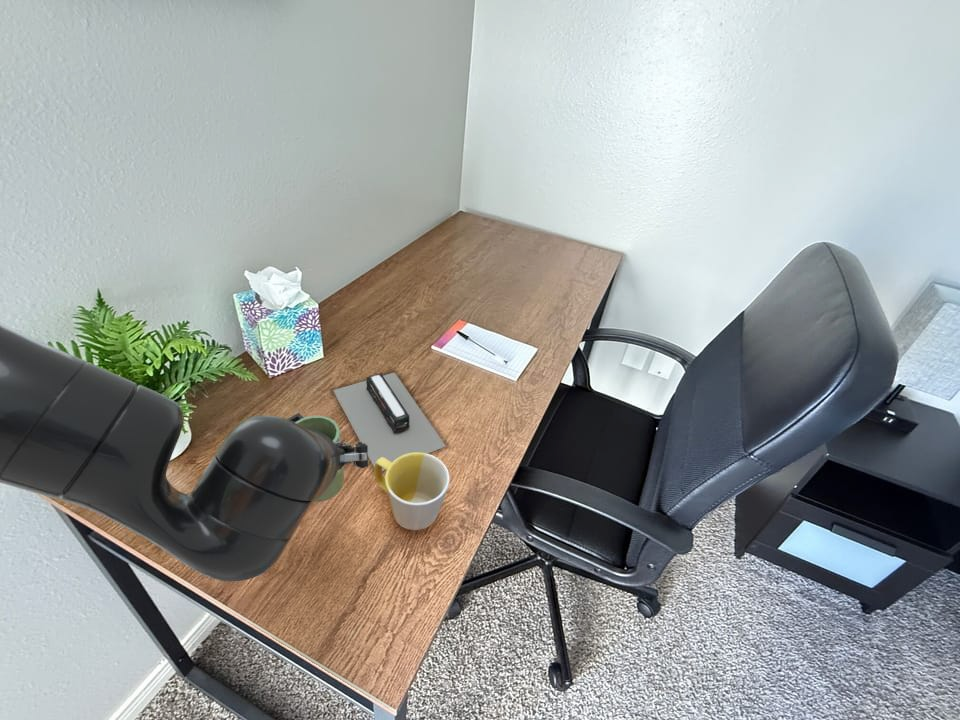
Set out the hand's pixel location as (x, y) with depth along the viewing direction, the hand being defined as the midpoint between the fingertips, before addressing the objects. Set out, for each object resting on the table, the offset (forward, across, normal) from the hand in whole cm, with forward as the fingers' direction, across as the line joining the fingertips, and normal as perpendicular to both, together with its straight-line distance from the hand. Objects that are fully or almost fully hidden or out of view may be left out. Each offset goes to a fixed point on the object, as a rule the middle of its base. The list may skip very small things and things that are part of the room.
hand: (318, 453), depth 63 cm
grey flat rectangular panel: (+32, -10, -4) cm, 34 cm away
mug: (+17, -13, +12) cm, 24 cm away
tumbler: (+2, 0, +4) cm, 5 cm away
